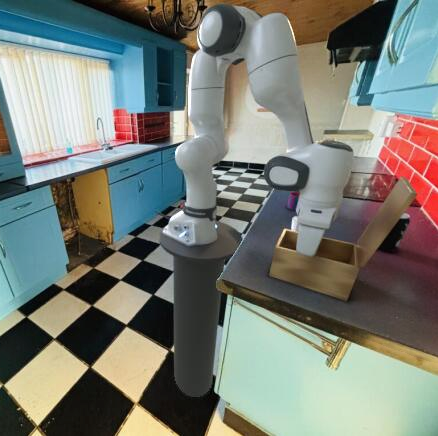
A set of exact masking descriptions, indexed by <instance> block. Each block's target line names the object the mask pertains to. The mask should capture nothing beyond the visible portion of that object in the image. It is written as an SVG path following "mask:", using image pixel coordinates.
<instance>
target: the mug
mask: <svg viewBox="0 0 438 436" xmlns="http://www.w3.org/2000/svg"><path fill="white" fill-rule="evenodd" d="M299 195H300V192H299V191H290V193H289V196H288V199H287V200H288V201H287V204H286V205H287V206H286V208H287V209H288V210H291V211H295V212H296V208H297V204H298V200H299Z"/></svg>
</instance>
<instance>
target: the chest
mask: <svg viewBox="0 0 438 436" xmlns="http://www.w3.org/2000/svg"><path fill="white" fill-rule="evenodd" d="M297 237H298V232H297V231H293V230H291V229H288V228H283V229H282V232H281V234H280V236H279V238H278V240H277V242H276V245H275V246H274V250H273V256H272V260H271V265H270V270H269V271H270V272H269V277H272V278H273V279H274V278H275V279H277V280H280V281H284V282H286V283H290V284H293V285H296V286H299V287H302V288H304V289H305V288H306V289H308V290H312V291H314V292H316V293H317V292H318V293H320V294H324V295H327V296H330V297H332V298H336V299H339V300H343V301H345V302H348V299H349V297H350V294H351V292H352V289H353V287H354V284H355V282H356V279H357V277H358V274H359V272H360V269H361V267H360V266H358V252H357V243H353V242H348V241H343V240H338V239H335V238H334V239H333V238H330V237H325V236H323V238H322V240H321V242H320V244H319V247H318V250H317V254H316V256H313V257H309V256H305V255H301V254H298V253H297V251H296V247H297Z"/></svg>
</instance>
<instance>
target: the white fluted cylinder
mask: <svg viewBox="0 0 438 436" xmlns="http://www.w3.org/2000/svg"><path fill="white" fill-rule="evenodd" d="M297 218H298V215H295V216H293V217H292V220H291V226H290V227H291V228H290V230H293V231H297V232H298V229H299V223H297Z"/></svg>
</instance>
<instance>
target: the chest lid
mask: <svg viewBox="0 0 438 436" xmlns="http://www.w3.org/2000/svg"><path fill="white" fill-rule="evenodd" d="M418 195H419V194H418V192H417V191H416V189H415V188H414V186H412V184H411V183H410V181H409V180H408V179H407V177H404V176H400V177H399V179H398V180H397V182H396V183H395V185H394V186H393V188H392V190H391V191H390V192H389V194H388V196H387V197H386V198H385V200H384V201H383V203H381V206H380V207H379V208H378V210H377V211H376V213H375V214H374V216H373V217H372V219H371V221H370V222H369V223H368V225H367V226H366V228H365V229H364V231H363V233H361V235H360V236H359V238H358V240H357V241H356V244H357V252H358V266H360V268H364V267H365V266H366V265H367V263H368V262H369V261H370V259H371V258H372V257H373V255H374V254H375V253H376V251H377V250H378V249H377V248H378V247H379V246H380V244H381V243H382V242H383V240H384V239H385V238H386V236H387V235H388V234H389V232H390V231H391V230H392V228H393V227H394V226H395V224H396V223H397V222H398V220H399V219H400V218H401V216H402V215H403V213H405V212H406V211H407V209H409V207H410V206H411V204H412V202H413V201H414V200H415V199H416V198H417V196H418Z"/></svg>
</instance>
